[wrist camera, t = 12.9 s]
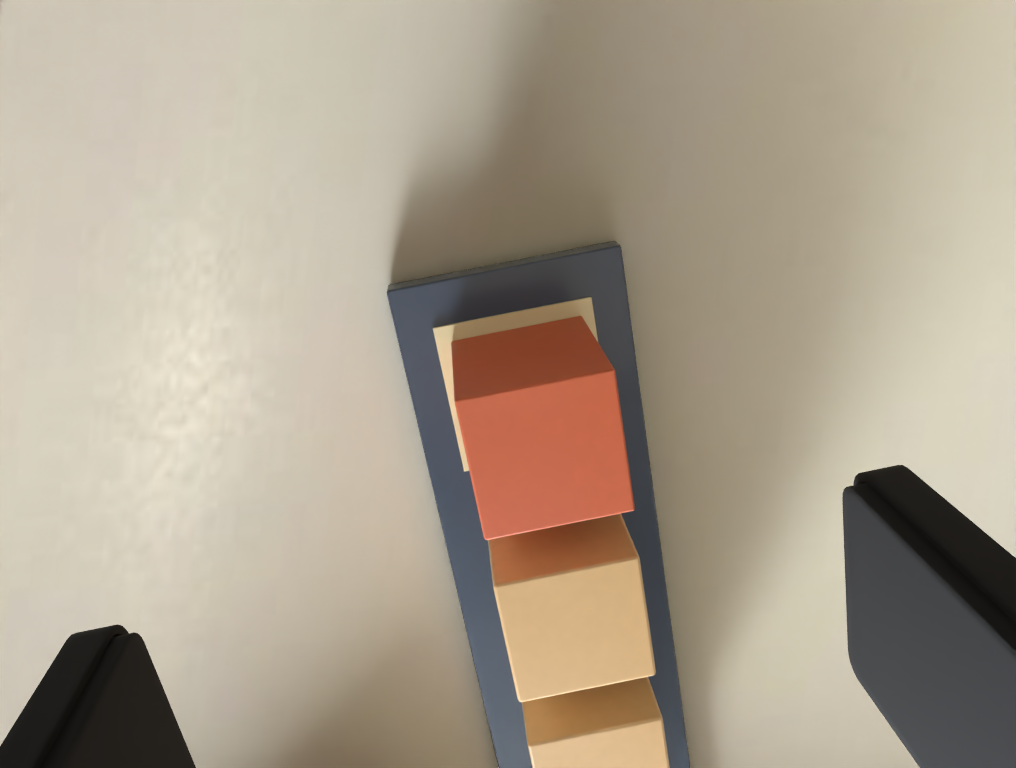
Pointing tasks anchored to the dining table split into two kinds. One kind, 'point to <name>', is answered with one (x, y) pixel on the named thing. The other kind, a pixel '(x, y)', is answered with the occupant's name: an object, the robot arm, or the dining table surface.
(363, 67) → the dining table surface
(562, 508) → the matte orange cube
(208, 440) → the dining table surface
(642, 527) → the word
